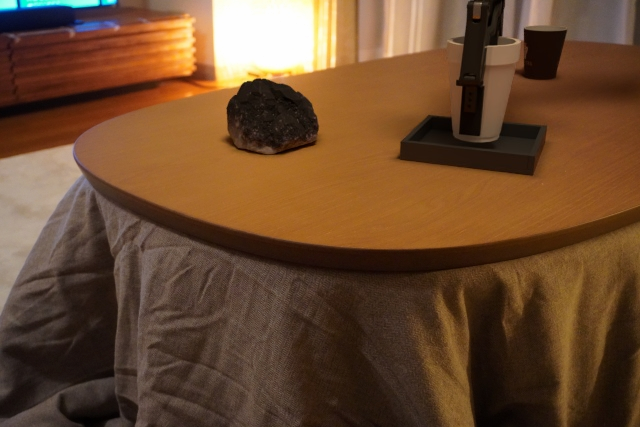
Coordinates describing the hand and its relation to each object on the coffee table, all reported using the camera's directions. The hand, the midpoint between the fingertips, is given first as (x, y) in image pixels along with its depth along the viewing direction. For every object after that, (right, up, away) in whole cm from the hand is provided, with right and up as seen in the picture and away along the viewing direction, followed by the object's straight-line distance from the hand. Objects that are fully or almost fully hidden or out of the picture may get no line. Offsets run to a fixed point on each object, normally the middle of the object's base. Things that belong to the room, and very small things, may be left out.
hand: (477, 124), depth 87 cm
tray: (0, -3, +2) cm, 4 cm away
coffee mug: (+26, +17, +47) cm, 56 cm away
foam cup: (0, -2, +1) cm, 2 cm away
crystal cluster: (-29, -2, +8) cm, 30 cm away
